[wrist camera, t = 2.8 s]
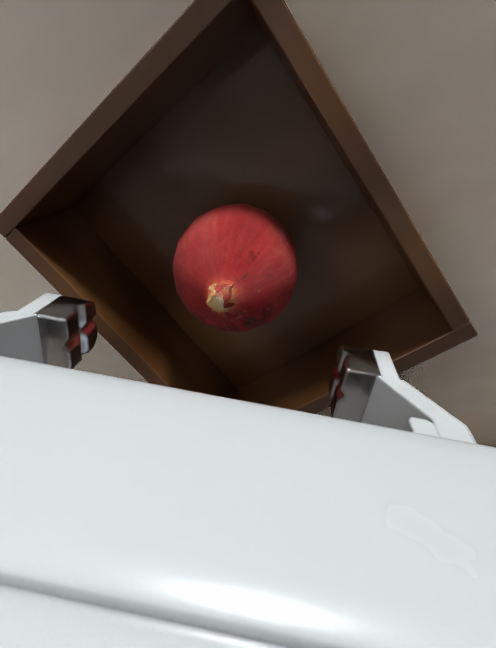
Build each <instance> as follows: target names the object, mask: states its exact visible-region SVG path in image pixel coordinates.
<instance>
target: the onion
mask: <svg viewBox="0 0 496 648" xmlns="http://www.w3.org/2000/svg"><path fill="white" fill-rule="evenodd" d="M173 274H174V280H175V286H176V291H177V293H178V294H179V296H180V298H181V300H182V301H183V303H184V305H185V306H186V308H187V310H188V311H189V312H190V313H192V314H193V315H194V316H195V317H196V318H197V319H199V320H200V321H201V322H202V323H203V324H205V325H208V326H210V327H213V328H215V329H218V330H220V331H223V332H247V331H250V330H252V329H255V328H257V327H260V326H263V325H265V324H268V323H270V322H271V321H273V320H274V319H275V318H276V317H277V315H278V314H279V313H280V312H281V311H282V310H283V309H284V308H285V307H286V306H287V304H288V303H289V302H290V301H291V297H292V294H293V291H294V288H295V285H296V282H297V279H298V264H297V251H296V248H295V246H294V245H293V243H292V241H291V239H290V237H289V235H288V233H287V231H286V229H285V228H284V226H283V225H282V224H280V223H279V222H278V221H277V220H276V219H275V218H274V217H273V216H271V215H270V214H269V213H268V212H267V211H265V210H262V209H259V208H256V207H253V206H251V205H248V204H245V203H241V204H229V205H220V206H218V207H216V208H214V209H212V210H210V211H208V212H206V213H204V214H202V215H201V216H199V217H197V218H195V219H194V221H193V222H192V223H191V224H190V226H189V227H188V228H187V229H186V231H185V232H184V233H183V235H182V236H181V238H180V239H179V241H178V244H177V248H176V252H175V256H174V260H173Z"/></svg>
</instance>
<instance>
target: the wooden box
mask: <svg viewBox="0 0 496 648" xmlns="http://www.w3.org/2000/svg"><path fill="white" fill-rule="evenodd" d="M241 203H245V204H248V205H251V206H253V207H256V208H259V209H262V210H265V211H267V212H268V213H269V214H270V215H271V216H273V217H274V218H275V219H276V220H277V221H278V222H279V223H280V224H282V225H283V226H284V228H285V229H286V231H287V233H288V235H289V237H290V239H291V241H292V243H293V245H294V246H295V248H296V251H297V264H298V279H297V282H296V285H295V288H294V291H293V294H292V297H291V301H290V302H289V303H288V304H287V306H286V307H285V308H284V309H283V310H282V311H281V312H280V313H279V314H278V315H277V317H276V318H275V319H274V320H273V321H271V322H270V323H268V324H265V325H263V326H260V327H257V328H255V329H252V330H250V331H247V332H223V331H220V330H218V329H215V328H213V327H210V326H208V325H205V324H203V323H202V322H201V321H200V320H199V319H197V318H196V317H195V316H194V315H193V314H192V313H190V312H189V311H188V310H187V308H186V306H185V305H184V303H183V301H182V300H181V298H180V296H179V294H178V293H177V291H176V286H175V280H174V274H173V260H174V256H175V252H176V248H177V244H178V241H179V239H180V238H181V236H182V235H183V233H184V232H185V231H186V229H187V228H188V227H189V226H190V224H191V223H192V222H193V221H194V219H195V218H197V217H199V216H201V215H202V214H204V213H206V212H208V211H210V210H212V209H214V208H216V207H218V206H220V205H229V204H241ZM0 233H1V234H2V235H3V236H4V237H6V239H7V240H8V241H9V242H10V243H11V244H12V245H13V246H14V247H15V248H16V249H17V250H18V251H19V252H20V253H21V255H22V256H23V257H24V258H25V259H26V260H27V261H28V262H29V263H30V264H31V265H32V266H33V267H34V268H35V269H36V270H37V271H38V272H39V273H40V274H41V275H42V276H43V277H44V278H45V279H46V280H47V281H48V282H49V283H50V284H51V285H52V286H53V287H54V288H55V289H56V290H57V291H58V292H59V293H60V294H61V295H63V296H68V297H74V298H79V299H84V300H89V301H93V302H94V304H95V307H96V315H95V316H94V318H93V319H92V320H93V321H94V323H95V324H96V325H97V331H98V332H99V333H100V334H101V335H102V336H103V337H104V338H105V339H106V340H107V341H108V342H109V343H110V344H111V345H112V346H113V347H114V348H115V349H116V350H117V351H118V352H119V353H120V354H121V355H122V356H123V357H124V358H125V359H126V360H127V361H128V362H129V363H130V364H131V365H132V366H133V367H134V368H135V369H136V370H137V371H138V372H139V373H140V374H141V375H142V376H143V377H144V378H145V379H146V380H147V381H148V382H149V383H150V384H156V385H161V386H166V387H172V388H177V389H182V390H188V391H193V392H199V393H204V394H209V395H215V396H220V397H225V398H231V399H236V400H242V401H247V402H253V403H258V404H263V405H269V406H274V407H280V408H285V409H290V410H296V411H301V412H307V413H312V414H316V413H318V412H320V411H322V410H324V409H326V408H328V407H330V405H331V401H332V398H331V397H330V396H329V383H330V377H331V373H332V369H333V368H334V367H335V366H336V365H337V360H336V355H337V351H338V349H339V346H340V345H346V346H353V347H359V348H366V349H372V350H377V351H385V352H388V353H389V354H390V357H391V359H392V362H393V364H394V367H395V369H396V371H397V374H399V373H401V372H403V371H405V370H407V369H409V368H411V367H413V366H415V365H417V364H419V363H421V362H424V361H426V360H428V359H430V358H432V357H434V356H436V355H438V354H440V353H442V352H444V351H446V350H448V349H450V348H453V347H455V346H457V345H459V344H461V343H463V342H465V341H467V340H469V339H471V338H473V337H475V336H477V332H476V331H475V329H474V327H473V326H472V324H471V322H470V321H469V319H468V317H467V315H466V314H465V312H464V310H463V308H462V307H461V305H460V303H459V301H458V300H457V298H456V296H455V295H454V293H453V291H452V289H451V288H450V286H449V284H448V283H447V281H446V279H445V277H444V276H443V274H442V272H441V270H440V269H439V267H438V265H437V264H436V262H435V260H434V258H433V257H432V255H431V253H430V252H429V250H428V248H427V246H426V245H425V243H424V241H423V240H422V238H421V236H420V234H419V233H418V231H417V229H416V227H415V226H414V224H413V222H412V221H411V219H410V217H409V215H408V214H407V212H406V210H405V209H404V207H403V205H402V203H401V202H400V200H399V198H398V196H397V195H396V193H395V191H394V190H393V188H392V186H391V184H390V183H389V181H388V179H387V178H386V176H385V174H384V172H383V171H382V169H381V167H380V165H379V164H378V162H377V160H376V159H375V157H374V155H373V153H372V152H371V150H370V148H369V147H368V145H367V143H366V141H365V140H364V138H363V136H362V135H361V133H360V131H359V129H358V128H357V126H356V124H355V122H354V121H353V119H352V117H351V116H350V114H349V112H348V110H347V109H346V107H345V105H344V104H343V102H342V100H341V98H340V97H339V95H338V93H337V91H336V90H335V88H334V86H333V85H332V83H331V81H330V79H329V78H328V76H327V74H326V73H325V71H324V69H323V67H322V66H321V64H320V62H319V61H318V59H317V57H316V55H315V54H314V52H313V50H312V48H311V47H310V45H309V43H308V42H307V40H306V38H305V36H304V35H303V33H302V31H301V30H300V28H299V26H298V24H297V23H296V21H295V19H294V17H293V16H292V14H291V12H290V11H289V9H288V7H287V5H286V4H285V2H284V0H194V1H193V2H192V4H191V5H190V6H189V7H188V8H187V9H186V10H185V11H184V12H183V13H182V15H181V16H180V17H179V18H178V19H177V20H176V21H175V22H174V23H173V24H172V26H171V27H170V28H169V29H168V30H167V31H166V32H165V33H164V34H163V35H162V37H161V38H160V39H159V40H158V41H157V42H156V43H155V44H154V45H153V46H152V48H151V49H150V50H149V51H148V52H147V53H146V54H145V55H144V56H143V57H142V59H141V60H140V61H139V62H138V63H137V64H136V65H135V66H134V67H133V68H132V70H131V71H130V72H129V73H128V74H127V75H126V76H125V77H124V78H123V79H122V81H121V82H120V83H119V84H118V85H117V86H116V87H115V88H114V89H113V90H112V92H111V93H110V94H109V95H108V96H107V97H106V98H105V99H104V100H103V101H102V102H101V104H100V105H99V106H98V107H97V108H96V109H95V110H94V111H93V112H92V113H91V115H90V116H89V117H88V118H87V119H86V120H85V121H84V122H83V123H82V124H81V126H80V127H79V128H78V129H77V130H76V131H75V132H74V133H73V134H72V135H71V137H70V138H69V139H68V140H67V141H66V142H65V143H64V144H63V145H62V146H61V148H60V149H59V150H58V151H57V152H56V153H55V154H54V155H53V156H52V157H51V159H50V160H49V161H48V162H47V163H46V164H45V165H44V166H43V167H42V168H41V170H40V171H39V172H38V173H37V174H36V175H35V176H34V177H33V178H32V179H31V181H30V182H29V183H28V184H27V185H26V186H25V187H24V188H23V189H22V190H21V192H20V193H19V194H18V195H17V196H16V197H15V198H14V199H13V200H12V201H11V203H10V204H9V205H8V206H7V207H6V208H5V209H4V210H3V211H2V212H1V214H0Z"/></svg>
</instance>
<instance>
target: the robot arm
mask: <svg viewBox="0 0 496 648" xmlns="http://www.w3.org/2000/svg"><path fill="white" fill-rule="evenodd" d="M95 315H96V307H95V304H94V302H93V301H89V300H84V299H79V298H74V297H68V296H63V295H59V294H52V293H45V294H44V295H42V296H41V297H39V298H37V299H36V300H34V301H33V302H31V303H29V304H28V305H26V306H24V307H23V308H21V309H20V310H18V311H8V312H3V313H0V648H496V447H490V446H485V445H480V444H477V442H476V441H475V439H474V437H473V435H472V433H471V432H470V430H469V428H468V426H466V425H465V424H464V423H462V422H461V421H459V420H458V419H457V418H455V417H454V416H453V415H451V414H450V413H448V412H447V411H446V410H444V409H443V408H442V407H440V406H439V405H437V404H436V403H435V402H433V401H432V400H430V399H429V398H428V397H426V396H425V395H424V394H422V393H421V392H419V391H418V390H417V389H415V388H414V387H413V386H411V385H410V384H408V383H407V382H406V381H403V380H400V379H399V376H398V374H397V371H396V369H395V367H394V364H393V362H392V359H391V357H390V354H389V353H388V352H385V351H377V350H372V349H366V348H359V347H353V346H346V345H340V346H339V349H338V351H337V355H336V360H337V365H336V366H335V367H334V368H333V369H332V373H331V377H330V383H329V396H330V397H331V398H332V401H331V405H330V406H331V414H332V417H328V416H323V415H317V414H312V413H307V412H301V411H296V410H290V409H285V408H280V407H274V406H269V405H263V404H258V403H253V402H247V401H242V400H236V399H231V398H225V397H220V396H215V395H209V394H204V393H199V392H193V391H188V390H182V389H177V388H172V387H166V386H161V385H156V384H150V383H145V382H139V381H134V380H129V379H123V378H118V377H113V376H107V375H102V374H96V373H91V372H86V371H80V370H75V369H73V368H74V367H75V366H76V365H77V364H78V363H79V362H80V361H81V360H82V357H81V355H82V354H85V353H88V352H89V351H90V350H91V349H92V348H93V346H94V344H95V342H96V339H97V325H96V324H95V323H94V321H93V320H92V319H93V318H94V316H95Z"/></svg>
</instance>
